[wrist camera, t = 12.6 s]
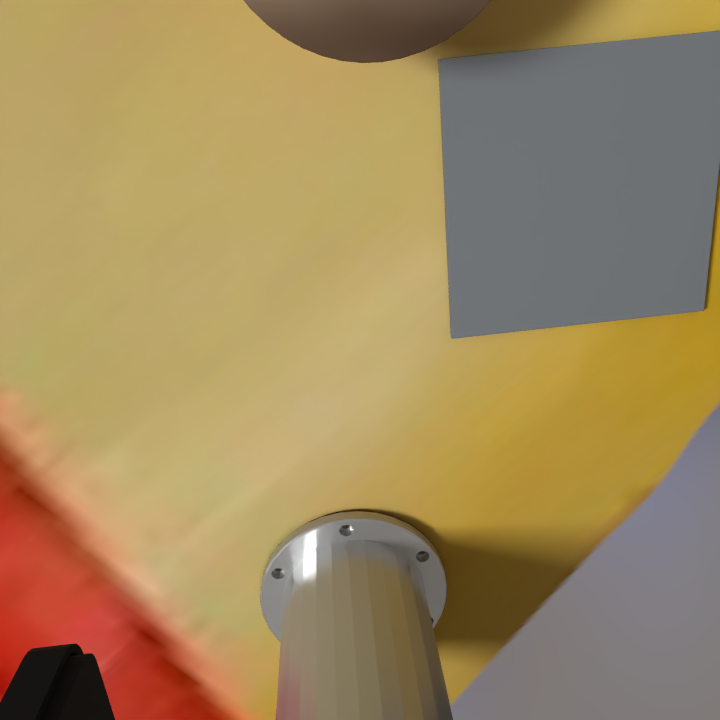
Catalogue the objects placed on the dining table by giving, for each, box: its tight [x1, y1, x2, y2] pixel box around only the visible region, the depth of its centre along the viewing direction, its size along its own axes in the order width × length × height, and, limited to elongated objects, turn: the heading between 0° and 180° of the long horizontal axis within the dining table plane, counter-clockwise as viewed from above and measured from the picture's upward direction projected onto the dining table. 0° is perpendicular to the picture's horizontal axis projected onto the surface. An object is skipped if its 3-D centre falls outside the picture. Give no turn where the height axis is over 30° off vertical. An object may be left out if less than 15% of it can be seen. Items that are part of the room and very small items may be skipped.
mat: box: [438, 31, 720, 339], centre depth 37 cm, size 15×15×1 cm
